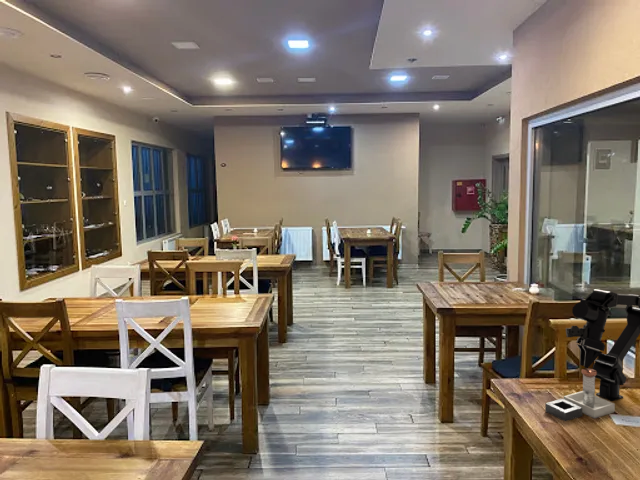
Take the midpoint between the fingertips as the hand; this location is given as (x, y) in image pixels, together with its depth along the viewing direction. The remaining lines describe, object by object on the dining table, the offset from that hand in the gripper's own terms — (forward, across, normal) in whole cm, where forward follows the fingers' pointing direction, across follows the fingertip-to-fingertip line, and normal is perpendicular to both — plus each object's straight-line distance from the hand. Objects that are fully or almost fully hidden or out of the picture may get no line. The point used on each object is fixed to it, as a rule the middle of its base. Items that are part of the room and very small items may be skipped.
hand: (583, 366), depth 168 cm
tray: (+13, -2, +5) cm, 14 cm away
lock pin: (+13, -1, +5) cm, 14 cm away
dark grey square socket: (+17, +5, -3) cm, 18 cm away
